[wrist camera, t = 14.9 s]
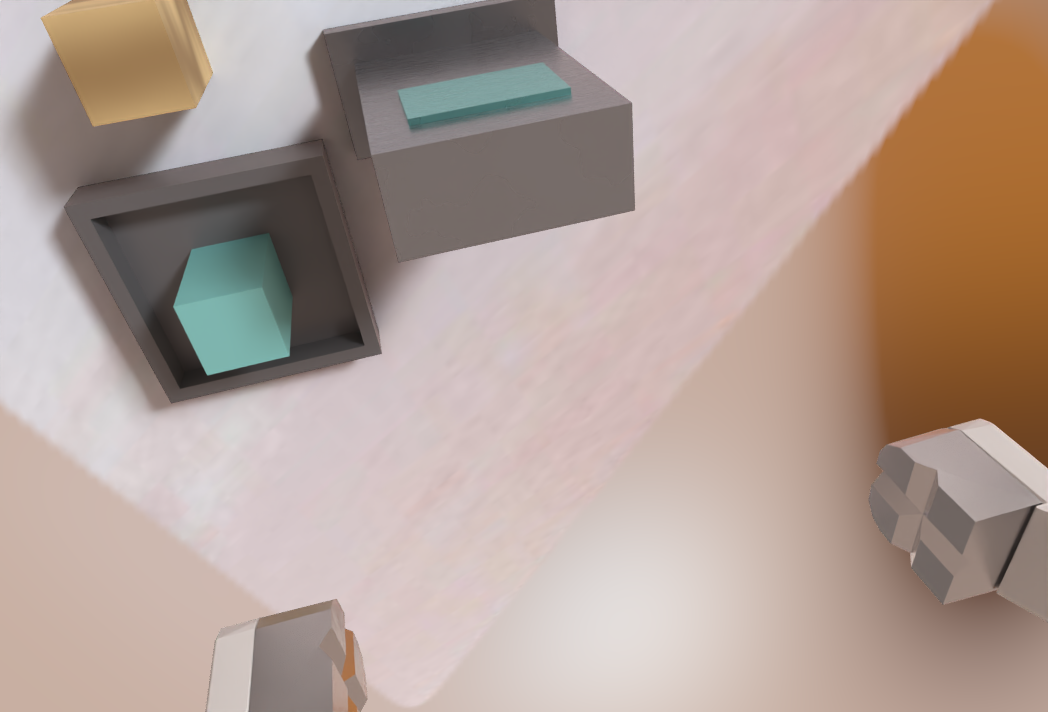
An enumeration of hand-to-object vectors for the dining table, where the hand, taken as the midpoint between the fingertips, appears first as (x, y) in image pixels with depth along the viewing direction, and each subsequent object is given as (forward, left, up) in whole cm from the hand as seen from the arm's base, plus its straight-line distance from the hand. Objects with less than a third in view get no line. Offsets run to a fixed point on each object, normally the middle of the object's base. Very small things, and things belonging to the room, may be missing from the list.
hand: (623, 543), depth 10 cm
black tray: (+9, -11, -31) cm, 34 cm away
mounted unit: (+1, +2, -31) cm, 31 cm away
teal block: (+9, -11, -30) cm, 33 cm away
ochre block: (-3, -11, -31) cm, 33 cm away
